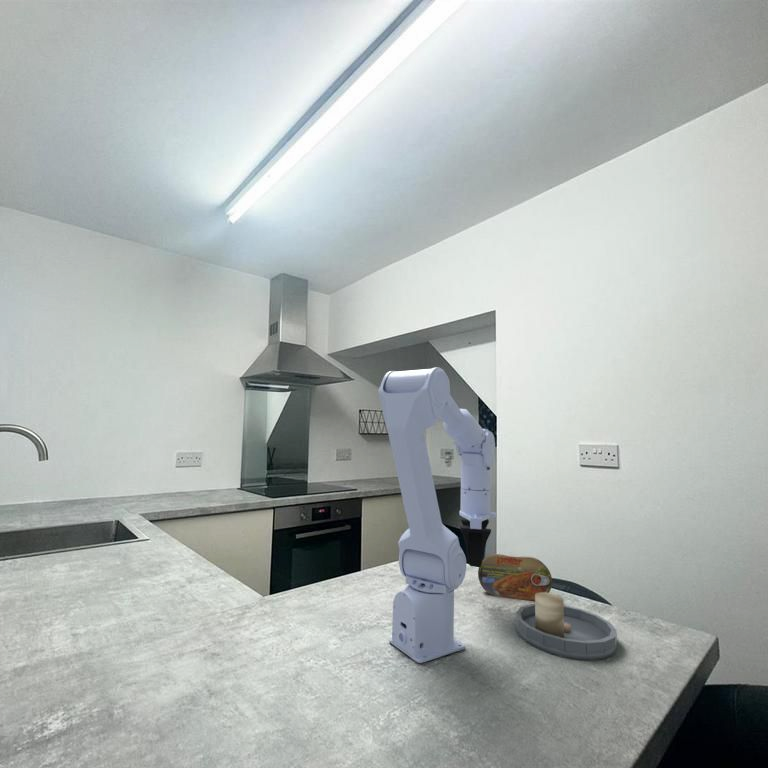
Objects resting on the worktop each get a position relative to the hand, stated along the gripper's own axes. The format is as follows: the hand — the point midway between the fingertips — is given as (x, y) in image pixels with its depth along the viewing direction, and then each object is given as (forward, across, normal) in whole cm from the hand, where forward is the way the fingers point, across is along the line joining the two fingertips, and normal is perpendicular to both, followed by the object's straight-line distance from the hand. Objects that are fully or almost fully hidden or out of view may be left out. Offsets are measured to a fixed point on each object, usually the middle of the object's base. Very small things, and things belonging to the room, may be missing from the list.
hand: (474, 560), depth 82 cm
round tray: (+9, -6, -15) cm, 19 cm away
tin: (+10, +11, -8) cm, 17 cm away
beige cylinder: (+8, -9, -12) cm, 17 cm away
